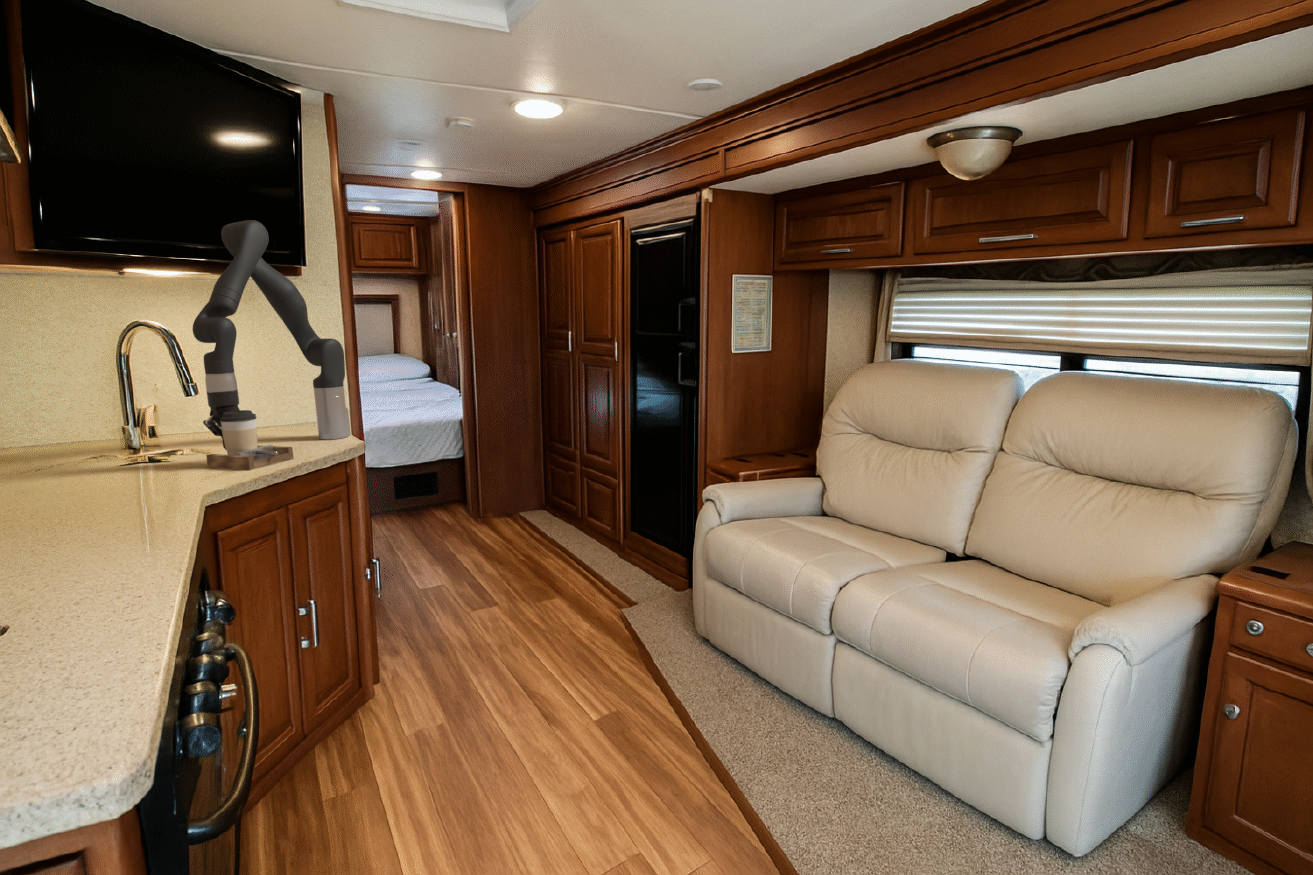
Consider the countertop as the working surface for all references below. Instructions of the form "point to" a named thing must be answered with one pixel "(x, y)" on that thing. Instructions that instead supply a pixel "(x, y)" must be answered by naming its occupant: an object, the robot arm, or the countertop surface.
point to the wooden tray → (248, 459)
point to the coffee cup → (239, 431)
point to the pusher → (259, 452)
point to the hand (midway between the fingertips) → (229, 449)
